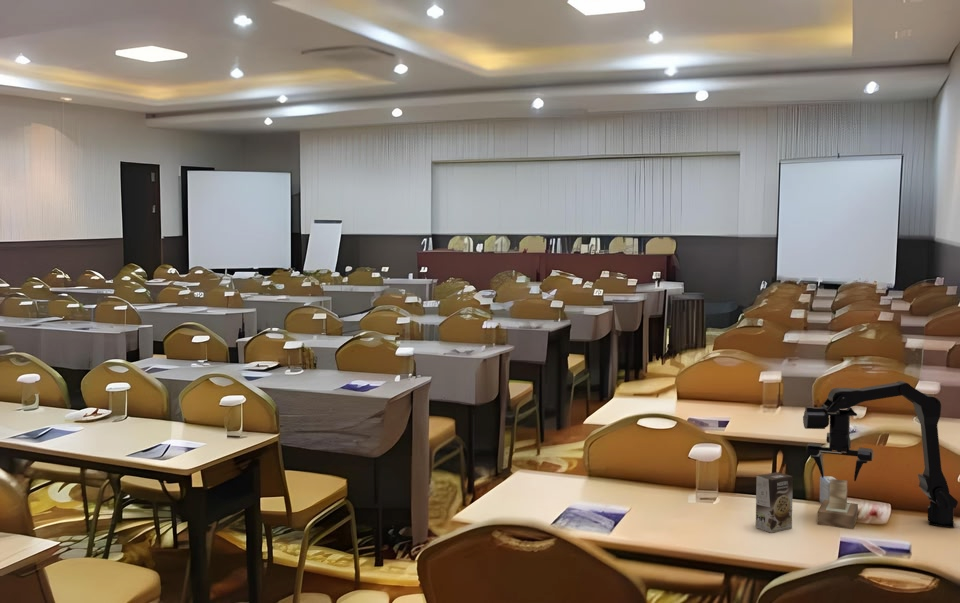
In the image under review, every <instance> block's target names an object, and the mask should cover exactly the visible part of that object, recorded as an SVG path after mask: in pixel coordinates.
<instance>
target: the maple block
mask: <svg viewBox="0 0 960 603" xmlns="http://www.w3.org/2000/svg"><path fill="white" fill-rule="evenodd" d="M836 479H837V478H835V479H831V481H830V503H829V508H834V509H842V510H845V509H846V507H847V503H848V480H844V479H843V480H842V479H837V480H836Z"/></svg>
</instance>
